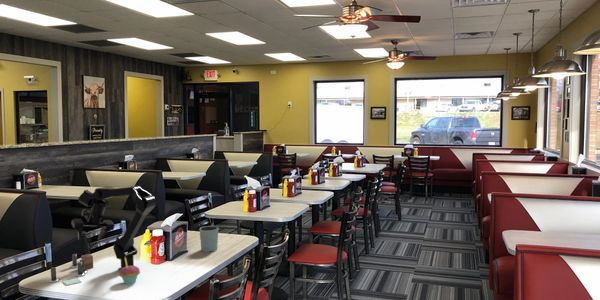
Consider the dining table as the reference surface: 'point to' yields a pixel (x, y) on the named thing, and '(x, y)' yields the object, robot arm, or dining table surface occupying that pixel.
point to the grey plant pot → (209, 238)
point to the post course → (78, 265)
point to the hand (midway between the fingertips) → (88, 239)
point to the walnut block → (88, 261)
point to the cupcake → (129, 273)
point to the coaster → (71, 281)
